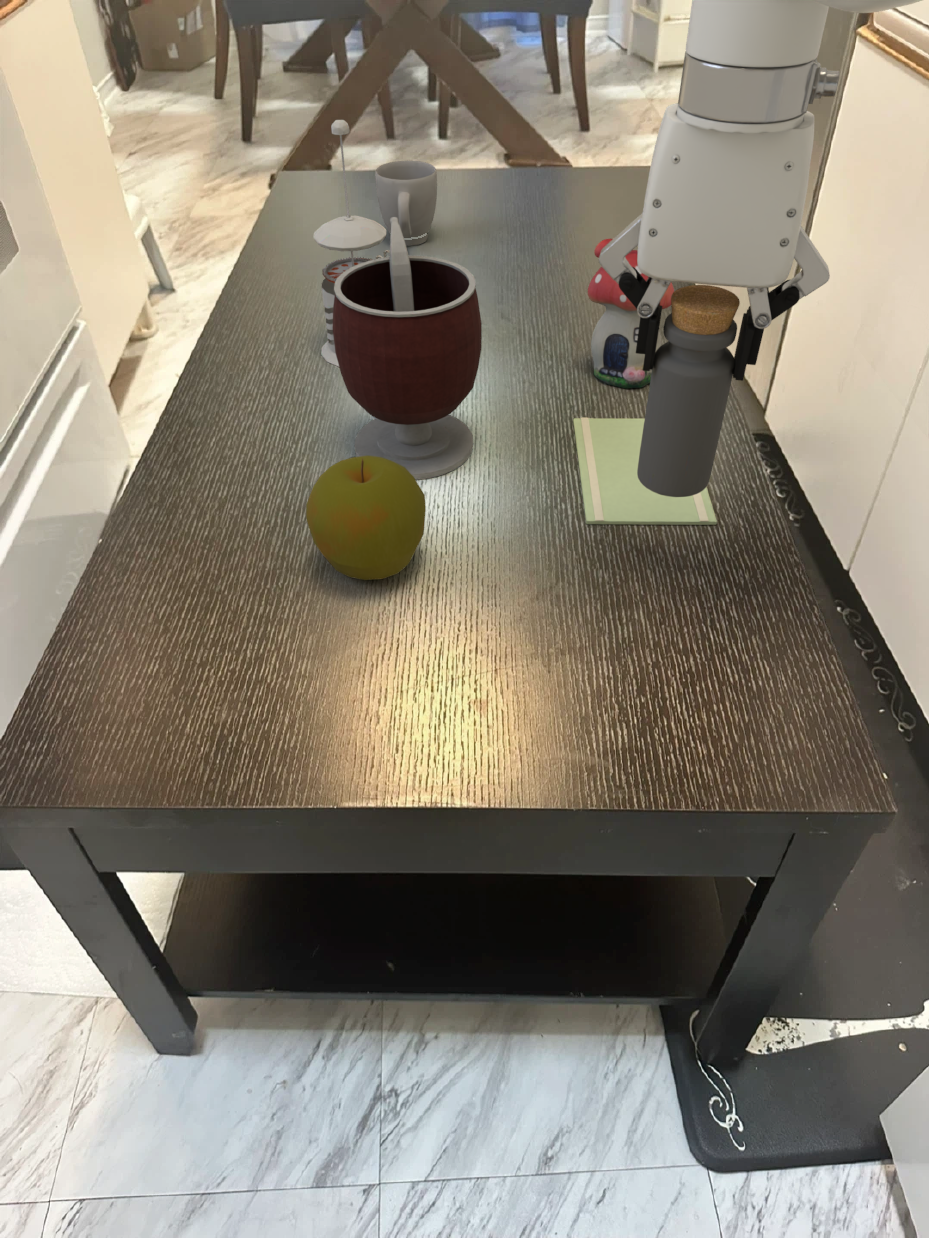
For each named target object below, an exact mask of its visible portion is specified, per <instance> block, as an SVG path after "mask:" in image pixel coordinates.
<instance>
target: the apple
mask: <svg viewBox="0 0 929 1238" xmlns="http://www.w3.org/2000/svg"><path fill="white" fill-rule="evenodd" d="M426 510H427V509H426V495H425V493H424V492H423V490H422V488H421V486H420V485H419V484H418V481H417V479H416V480H415V478H414V477H413V476H412V475H411V474H410V472H409V471H408V470H407V469H406V468H405V467H403V466H401V465H399V464H397V463H395V462H393V461H391V460H388V459H385V458H382V457H376V456H360V457H357V456H352V457H349V458H346V459H342V460H339V461H338V462H336V463H334V464H332V465H331V466H330V467H328V468H327V469H326V470H325V471H324V472H322V474H321V475H320V476H319V477H318V479H317V480H316V481H315V483H314V485H313V486H312V489H311V491H310V494H309V496H308V500H307V501H306V504H305V511H306V512H305V516H306V518H305V519H306V522H307V526H308V528H309V529H308V530H309V531H310V535H311V539H312V541H313V544H314V545H315V546H316V548H317V550H319V553H321V555H322V556H323V557H324V558H325V559H326V561H327V562H328V563H329V564H330V565H331V566H332V567H333V568H334V570H335V571H336V572H339V573H340V574H341V575H344V576H346V577H349V578H352V579H353V578H354V579H359V580H363V581H369V580H370V581H371V580H372V581H373V580H383V579H386V578H389V577H392V576H395V575H398V574H399V573H400V572H401V571H403V570H404V569H405V568H406V567H407V566H409V564H410V562H411V560H412V559H413V556H414V555H415V553H416V550H417V548H418V547H419V545H420V543H421V540H422V539H423V536H424V535H425V523H426Z"/></svg>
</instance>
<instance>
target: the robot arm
mask: <svg viewBox="0 0 929 1238" xmlns="http://www.w3.org/2000/svg"><path fill="white" fill-rule="evenodd" d="M922 1H923V0H692V1H691V6H690V7H691V8H690V15H689V21H688V27H687V35H686V42H685V52H684V57H683V65H682V72H681V79H680V85H679V86H680V87H679V92H678V93H679V94H678V101H677V102H676V103H673V104H670V105H668V106H667V107H665V110H664V113H663V116H662V118H661V119H662V120H661V122H660V126H659V129H658V133H657V136H656V139H655V140H656V141H655V144H654V147H653V148H654V149H653V153H652V158H651V163H650V167H649V172H648V178H647V184H646V190H645V195H644V200H643V208H642V212H641V213H640V214H639V215H638V216H637V217H636V218H635V219H634V220H632V221H631V222H630V223H629V224H628V225H627V226H626V227H624V228H623V229H622V230H621V231H620V232H619V233H618V234H617V235H616V236H615V237H613V238H611V239H612V240H611V241H610V242H609V243H608V244H607V245H606V246H605V247H604V248H603V249H602V250H601V252H600V256H599V258H598V264H599V266H600V267H601V266H602V268H603V269H604V270H605V271H606V272H607V273H608V274H609V275H610V277H611V278H612V279H613V280H615V281H616V282H617V283H618V285H619V288H620V290H621V291H622V292H623V293H624V294H625V296H626V297H627V298H628V299H629V300H630V301H631V303H632V304H633V305H634V306H635V307H636V309H637V314H638V315H639V316H640V324H639V331H638V339H637V346H636V353H637V354H645V358H644V365H643V371H650V369H651V370H653V364H654V358H655V352H656V346H657V339H658V332H659V331H660V325H661V318H662V311H663V309H662V306H660V301H661V299H662V297H663V295H664V294H665V292H666V290H667V288H668V287H669V285H670V283H671V282H675V283H685V284H694V285H710V286H718V287H719V286H721V287H732V288H733V287H734V288H744V289H745V288H746V290H747V296H748V301H749V306H748V309H746V312H744V313H743V314H742V320H741V322H740V328H739V332H738V338H737V341H736V347H735V351H734V355H733V357H734V360H735V364H734V370H733V376H732V379H735V381H741V382H743V381H744V379H745V374H746V369H747V365H750V366H756V364H757V362H758V357H759V353H760V349H761V344H762V340H763V336H764V331H765V329H766V328H768V327H769V326H770V325H771V324H772V321H773V320H775V319H777V318H778V317H779V316H781V315H782V314H784V313H785V312H787V311H789V310H790V309H791V308H793V307H794V306H795V305H797V304H798V303H799V301H800V300H801V299H803V298H804V297H807V296H809V295H810V294H811V293H813V292H815V291H816V290H818V289H819V288H820V287H822V286H824V285H825V284H827V283H829V280H830V277H831V276H830V269H829V265H828V264H827V262H826V260H824V258H823V256H822V255H821V254H820V252H819V250H818V249H817V247H816V246H815V244H814V242H813V241H812V240H811V238H810V237H809V235H808V233H807V232H806V231H805V230H804V228H803V226H802V222H803V216H804V213H805V211H804V210H805V206H806V199H807V194H808V189H809V181H810V180H809V179H810V171H811V169H810V168H811V161H812V155H813V150H814V149H813V148H814V141H815V120H816V119H815V114H813V113H812V112H810V111H809V110H808V107H809V105H813V103H814V100H821V98H835V95H836V93H837V89H838V85H839V82H840V73H841V71H840V70H828V68H827V67H822V64H821V62H818V56H819V52H820V48H821V44H822V40H823V35H824V32H825V27H826V22H827V18H828V13H829V10H830V8H832V9H835V10H839V11H842V12H848V13H853V14H854V13H855V14H870V13H871V14H872V13H879V12H884V11H888V10H893V9H896V8H901V7H905V6H908V5H909V6H910V5H912V4H916V3H920V2H922ZM636 248H637V250H638V255H637V263H638V268H639V270H640V271H641V272H642V273H643V274H645V275H646V276H648V279H647V281H645V279H644V278H643V277H642V276H641V274H640V273H639V272H638V271H637V270H636V269H635V268H634V267H632V266H631V265H630V264H629V262H628V261H627V260H626V258H625V256H626V255H627V254H628V253H630V252H631V251H632V250H635V249H636ZM794 260H795V262H796V263H797V265H798V266H799V268H800V269H801V270H800V271H799V272H798V273H797V274H795V275H794V277H792V278H791V279H788V277H789V275H790V273H791V270H792V267H793V264H794ZM773 287H775V288H773ZM769 288H773V289H771V290H770V289H769Z"/></svg>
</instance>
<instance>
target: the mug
mask: <svg viewBox="0 0 929 1238" xmlns="http://www.w3.org/2000/svg"><path fill="white" fill-rule="evenodd" d="M374 179H375V190H376V197H377V202H378V207H379V211H380V215H381V218H382V220H383V223H384V225H385V227H386V230H387V231H388V234H389V235H390V233H391V224H390V219H391V218H392V217H397V218H398V221H399V226H400V228H401V231H402V234H403V237H404V238H411V237H418V236H421V235H423V234H425V233H427V232H428V231H429V232H430V229H431V227H432V225H433V222H434V218H435V214H436V213H435V212H436V208H437V207H436V206H437V197H438V171H437V168H436V167H435V166H434V165H433V164H431V163H429V162H426V161H421V160H410V159H409V160H408V159H407V160H396V161H390V162H387V163H383V164H381V165H379V166H378V167H377V168H376V169H375V172H374ZM429 232H428V234H427V235H426V236H424V237H422V238H418V239H412V240H405V244H406V247H409V246H410V247H412V246H418V245H421V244H423V243H425V242H427V240H428V236H429ZM390 237H391V235H390Z"/></svg>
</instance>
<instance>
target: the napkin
mask: <svg viewBox="0 0 929 1238" xmlns="http://www.w3.org/2000/svg"><path fill="white" fill-rule="evenodd" d="M644 420H645V418H623V417H622V418H618V417H617V418H614V417H613V418H609V417H608V418H605V417H604V418H602V417H601V418H596V417H593V418H590V417H586V416H585V417H583V416H581V417H580V418H579V417H577V418H576V417H575V418H572V424H573V425H572V426H573V432H574V440H575V448H576V455H577V464H578V471H579V479H580V486H581V495H582V502H583V511H584V519H585V524H586V525H642V526H643V525H645V526H646V525H647V526H648V525H653V526H657V525H658V526H659V525H660V526H661V525H662V526H663V525H664V526H666V525H669V526H670V525H672V526H677V525H678V526H717V524H718V520H717V517H716V514H715V511H714V506H713V504H712V500H711V497H710V494H709V491H708V488H707V487H708V486H707V487H706V488H705V489H704V490H703V491H701V492H700V493H698V494H695V495H692V496H687V497H670V496H664V495H660V494H657V493H655V492H652V491H651V490H649V489H647V488H646V487H645V486H644V485H642V483H641V482H640V481H639V479H638V475H637V469H638V462H639V454H640V447H641V440H642V434H643V427H644Z"/></svg>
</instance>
